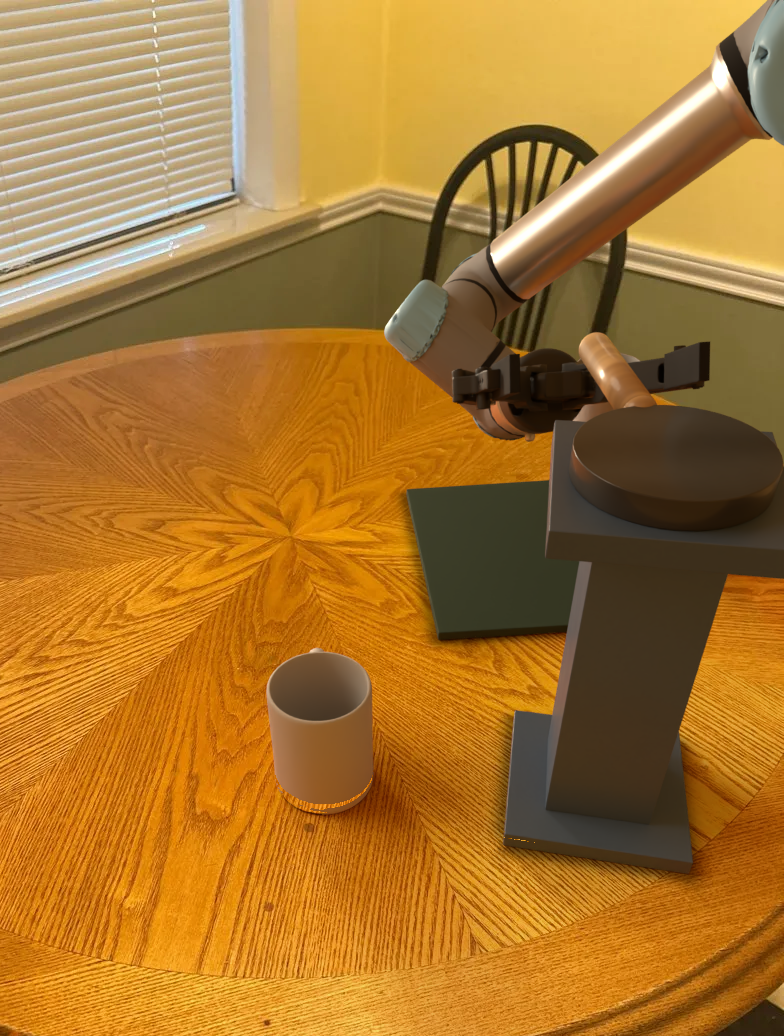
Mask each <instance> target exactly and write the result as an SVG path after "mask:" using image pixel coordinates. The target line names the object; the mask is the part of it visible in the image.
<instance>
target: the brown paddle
mask: <svg viewBox="0 0 784 1036" xmlns="http://www.w3.org/2000/svg"><path fill="white" fill-rule="evenodd" d="M620 353H621V352H620V351H619V349H618V348H617V347H616V345H615V344H614V343H613V342H612V340H611V339H610V338H609V336H607V335H606V334H605V333H603V332H599V331H598V332H597V331H594V332H591V333H589V334H587V335H585V336H584V337H583V339H581V340H580V343H579V345H578V356H579V359H580V358H581V360H582V361H583V363H584V364H585V366H586V367H587V369H588V370H589V372H590V374H591V375H592V377H593V378H594V380H595V381H596V383H597V384H598V386H599V387H600V389H601V390H602V392H603V394H604V395H605V397H606V398H607V400H608V401H609V403H610V404H611V406H612V407H613V409H614V410H611V411H608V412H605V413H602V414H600V415H598V416H595V417H593V418H592V419H590V420H588V421H587V422H586V423H584V424H583V425H582V426H581V427H580V428H579V430H578V431H577V432H576V434H575V436H574V439H573V445H572V452H571V458H570V464H569V477H570V479H571V482H572V484H573V486H574V487H575V489H576V490H577V491H578V493H579V494H580V495H581V496H582V497H583V498H585V499H586V500H587V501H588V502H589V503H591V504H592V505H594V506H595V507H597V508H599V509H600V510H602V511H604V512H606V513H608V514H610V515H613V516H615V517H618V518H620V519H623V520H626V521H629V522H632V523H636V524H640V525H644V526H648V527H653V528H659V529H667V530H676V531H707V530H717V529H723V528H728V527H732V526H736V525H739V524H742V523H745V522H747V521H749V520H752V519H753V518H755V517H757V516H759V515H760V514H761V513H762V512H763V511H765V510H766V509H767V508H768V506H769V505H770V504H771V502H772V500H773V497H774V494H775V491H776V488H777V485H778V482H779V479H780V476H781V473H782V470H783V466H784V459H783V454H782V452H781V450H780V448H779V447H778V445H777V446H776V445H775V443H774V442H773V441H772V440H771V439H770V438H769V437H767V436H766V435H765V434H763V433H762V432H761V430H760V429H758V428H756V427H754V426H753V425H750V424H749V423H746V422H744V421H742V420H739V419H737V418H735V417H731V416H729V415H726V414H722V413H719V412H716V411H711V410H706V409H702V408H697V407H691V406H683V405H672V404H658V403H657V401H656V400H655V398H654V397H653V396H652V394H650V393H649V392H648V390H647V389H646V388H645V386H644V385H643V384H642V382H641V381H640V379H639V378H638V377H637V375H636V374H635V373H634V371H633V370H632V369H631V367H630V366H629V365H628V363H627V362H626V361H625V359H624V358H623V357H622V355H621V354H620Z"/></svg>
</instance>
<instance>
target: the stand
mask: <svg viewBox="0 0 784 1036" xmlns="http://www.w3.org/2000/svg"><path fill="white" fill-rule="evenodd" d="M584 423H586V422H582V421H564V420H555V423H554V430H553V432H552V438H551V447H550V463H549V464H550V465H549V478H548V480H549V496H548V514H547V531H546V548H545V558H548V559H560V560H571V561H579V567H578V573H577V578H576V584H575V589H574V595H573V601H572V606H571V612H570V618H569V623H568V629H567V632H566V634H565V635H566V636H565V641H564V647H563V654H562V658H561V662H560V669H559V675H558V680H557V686H556V692H555V697H554V702H553V709H552V714H549V713H541V712H533V711H526V710H514V712H513V713H514V715H513V721H512V732H511V741H510V742H511V744H510V756H509V768H508V780H507V790H506V792H507V793H506V802H505V815H504V826H503V828H504V829H503V838H502V839H503V840H502V846H506V847H513V848H519V849H525V850H532V851H539V852H545V853H550V854H551V853H552V854H556V855H557V854H558V855H564V856H571V857H576V858H583V859H591V860H595V861H596V860H597V861H602V862H609V863H616V864H622V865H628V866H635V867H642V868H648V869H653V870H661V871H666V872H667V871H668V872H674V873H681V874H685V875H686V874H688V875H689V874H690V872H691V870H692V867H693V865H694V858H693V849H692V840H691V839H692V838H691V829H690V821H689V820H690V819H689V810H688V801H687V792H686V783H685V773H684V765H683V763H684V762H683V756H682V754H683V753H682V745H681V737H680V736H681V735H680V728H681V725H682V722H683V719H684V716H685V713H686V710H687V707H688V704H689V701H690V697H691V694H692V691H693V688H694V684H695V681H696V677H697V675H698V671H699V668H700V665H701V662H702V658H703V655H704V652H705V650H706V646H707V643H708V640H709V636H710V634H711V630H712V627H713V623H714V621H715V617H716V614H717V611H718V608H719V605H720V602H721V597H722V595H723V592H724V589H725V587H726V582H727V580H728V576H729V575H732V576H733V575H735V576H744V577H745V576H746V577H755V578H765V579H767V578H768V579H780V580H784V465H783V470H782V473H781V476H780V479H779V482H778V485H777V488H776V491H775V494H774V497H773V500H772V502H771V504H770V505H769V506H768V508H767V509H766V510H765V511H763V512H762V513H761V514H760V515H759V516H757V517H755V518H753V519H752V520H749V521H747V522H745V523H742V524H739V525H736V526H732V527H728V528H723V529H717V530H707V531H676V530H667V529H659V528H653V527H648V526H644V525H640V524H636V523H632V522H629V521H626V520H623V519H620V518H618V517H615V516H613V515H610V514H608V513H606V512H604V511H602V510H600V509H599V508H597V507H595V506H594V505H592V504H591V503H589V502H588V501H587V500H586V499H585V498H583V497H582V496H581V495H580V494H579V493H578V491H577V490H576V489H575V487H574V486H573V484H572V482H571V479H570V477H569V464H570V458H571V452H572V445H573V439H574V436H575V434H576V432H577V431H578V430H579V428H580V427H581V426H582V425H583V424H584ZM760 431H761V430H760ZM761 432H762V433H763V434H765V435H766V436H767V437H769V438H770V439H771V440H772V441H773V442H774V443H775V445H776V446H777V447H778V444H777V442H776V438H775V435H774V432H773V431H761ZM505 819H506V820H505ZM504 831H505V832H504ZM504 837H505V838H504ZM508 838H512V839H508ZM514 839H520V840H514ZM521 840H526V841H521ZM527 841H529V842H527ZM534 842H535V843H534Z"/></svg>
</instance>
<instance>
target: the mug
mask: <svg viewBox="0 0 784 1036" xmlns="http://www.w3.org/2000/svg"><path fill="white" fill-rule="evenodd" d="M372 684H373V683H372V680H371V677H370V675H369V673H368V672H367V670H366V669H365V668H364V666H362V665H361V664H360V663H359V662H358V661H356V660H354V658H352V657H349V656H346V655H344V654H341V653H337V652H331V651H324V649H322V648H321V647H315V648H311V649H310V650H309V652H306V653H302V654H297V655H295V656H292V657H291V658H289V659H287V660H285V661H284V662H281V664H280V665H278V666H277V667H276V669H274V671H273V672H272V673H271V674H270V676H269V679H268V681H267V684H266V704H267V712H268V721H269V731H270V739H271V746H272V747H271V748H272V756H273V767H274V776H275V775H276V778H277V780H278V782H279V784H280V785H281V787H282V788H283V789H284V790H285V791H286V792H288V793H289V794H291V795H292V796H294V797H296V798H298V799H299V800H302V801H306V802H308V803H313V804H335V803H340V802H344V801H347V800H350V799H351V798H353V797H355V796H356V795H358V794H360V793H361V792H362V791H363V790H364V789H365V788H366V787H367V785H368V784H369V782H370V780H371V778H372V775H373V776H374V773H375V772H373V770H374V749H373V748H374V746H373V745H374V743H373V738H374V737H373V736H374V735H373V685H372ZM373 780H374V777H373V778H372V781H371V783H370V785H369V787H368V788H367V789H366V791H365V792H364V793H363V794H362V795H361V796H359V797H358V798H357V799H355V800H354V801H352V802H350V803H348V804H346V805H343V806H340V807H335V808H327V809H324V810H319V809H314V808H311V809H310V810H313V811H321V812H327V813H324V814H323V815H334V814H339V813H343V812H345V811H347V810H349V809H351V808H353V807H355V806H357V805H358V804H359V803H360V802H361V801H362V800H364V799H365V797H366V796H367V795H368V793H369V791H370V789H371V787H372V785H373ZM277 785H278V784H277V783H276V786H277ZM277 789H278V791H279V793H280V792H281V793H283V792H282V791H280V790H279V789H280V788H279V787H277ZM281 793H280V794H281ZM299 806H303V805H299ZM305 807H306V806H305Z"/></svg>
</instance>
